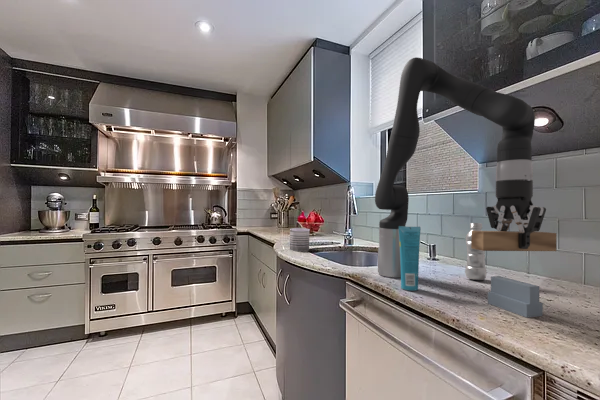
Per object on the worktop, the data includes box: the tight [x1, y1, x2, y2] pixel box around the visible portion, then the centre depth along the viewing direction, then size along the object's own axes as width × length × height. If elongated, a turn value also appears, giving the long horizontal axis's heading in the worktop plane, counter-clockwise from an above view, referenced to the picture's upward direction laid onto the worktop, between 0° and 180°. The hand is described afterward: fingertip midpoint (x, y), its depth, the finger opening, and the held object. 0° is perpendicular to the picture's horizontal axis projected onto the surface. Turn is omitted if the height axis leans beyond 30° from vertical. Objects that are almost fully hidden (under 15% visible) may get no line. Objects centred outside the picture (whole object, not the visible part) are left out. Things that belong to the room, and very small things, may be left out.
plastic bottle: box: [464, 222, 487, 281], centre depth 101 cm, size 6×7×20 cm
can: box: [289, 227, 311, 252], centre depth 163 cm, size 11×11×12 cm
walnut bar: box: [471, 230, 557, 252], centre depth 72 cm, size 4×20×4 cm, turn 97°
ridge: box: [487, 275, 544, 318], centre depth 72 cm, size 10×5×7 cm, turn 15°
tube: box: [399, 225, 421, 292], centre depth 88 cm, size 7×5×19 cm, turn 107°
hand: (513, 246), depth 72 cm, fingers closed on walnut bar, 4 cm apart
